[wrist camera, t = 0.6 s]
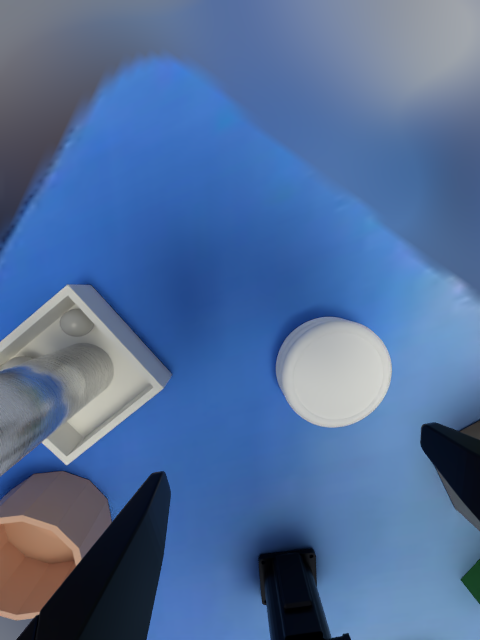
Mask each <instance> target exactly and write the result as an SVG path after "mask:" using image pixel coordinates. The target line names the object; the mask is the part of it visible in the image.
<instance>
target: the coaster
mask: <svg viewBox="0 0 480 640" xmlns="http://www.w3.org/2000/svg"><path fill="white" fill-rule="evenodd" d="M391 374H392V366H391V359H390V356H389V353H388V351H387V348H386V346H385V345H384V343H383V342H382V340H381V339H380V338H379V337H378V336H377V335H376V334H375V333H374V332H373V331H372V330H370V329H369V328H367V327H366V326H364V325H362V324H359V323H356V322H353V321H349V320H345V319H342V318H337V317H320V318H316V319H313V320H310V321H307V322H305V323H303V324H302V325H300V326H299V327H297V328H296V329H295V330H293V331H292V332H291V333H290V334H289V335H288V337H287V338H286V339H285V341H284V342H283V344H282V346H281V348H280V350H279V353H278V356H277V361H276V376H277V381H278V384H279V386H280V388H281V390H282V392H283V394H284V396H285V398H286V400H287V402H288V404H289V405H290V406H291V408H292V409H293V410H294V411H295V412H296V413H297V414H298V415H299V416H301V417H302V418H303V419H305V420H307V421H308V422H310V423H313V424H315V425H318V426H322V427H343V426H347V425H350V424H353V423H356V422H358V421H360V420H362V419H363V418H365V417H366V416H368V415H369V414H370V413H371V412H372V411H374V410H375V409H376V407H377V406H378V405H379V404H380V403H381V401H382V400H383V398H384V396H385V395H386V393H387V390H388V388H389V385H390V381H391Z"/></svg>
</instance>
